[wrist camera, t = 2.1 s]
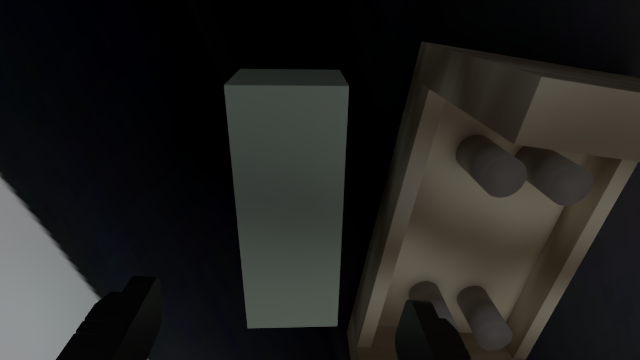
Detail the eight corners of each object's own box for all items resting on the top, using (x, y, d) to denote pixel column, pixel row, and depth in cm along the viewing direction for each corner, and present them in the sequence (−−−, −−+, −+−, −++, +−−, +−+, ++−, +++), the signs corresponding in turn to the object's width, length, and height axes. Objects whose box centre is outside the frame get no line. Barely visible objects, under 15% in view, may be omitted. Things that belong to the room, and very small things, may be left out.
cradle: (421, 41, 16) (541, 76, 8) (631, 76, 17) (923, 138, 9) (347, 331, 24) (369, 500, 16) (496, 343, 25) (589, 507, 17)
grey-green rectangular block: (240, 68, 17) (224, 85, 13) (339, 69, 17) (348, 86, 13) (256, 274, 22) (247, 328, 18) (331, 273, 22) (337, 326, 18)
